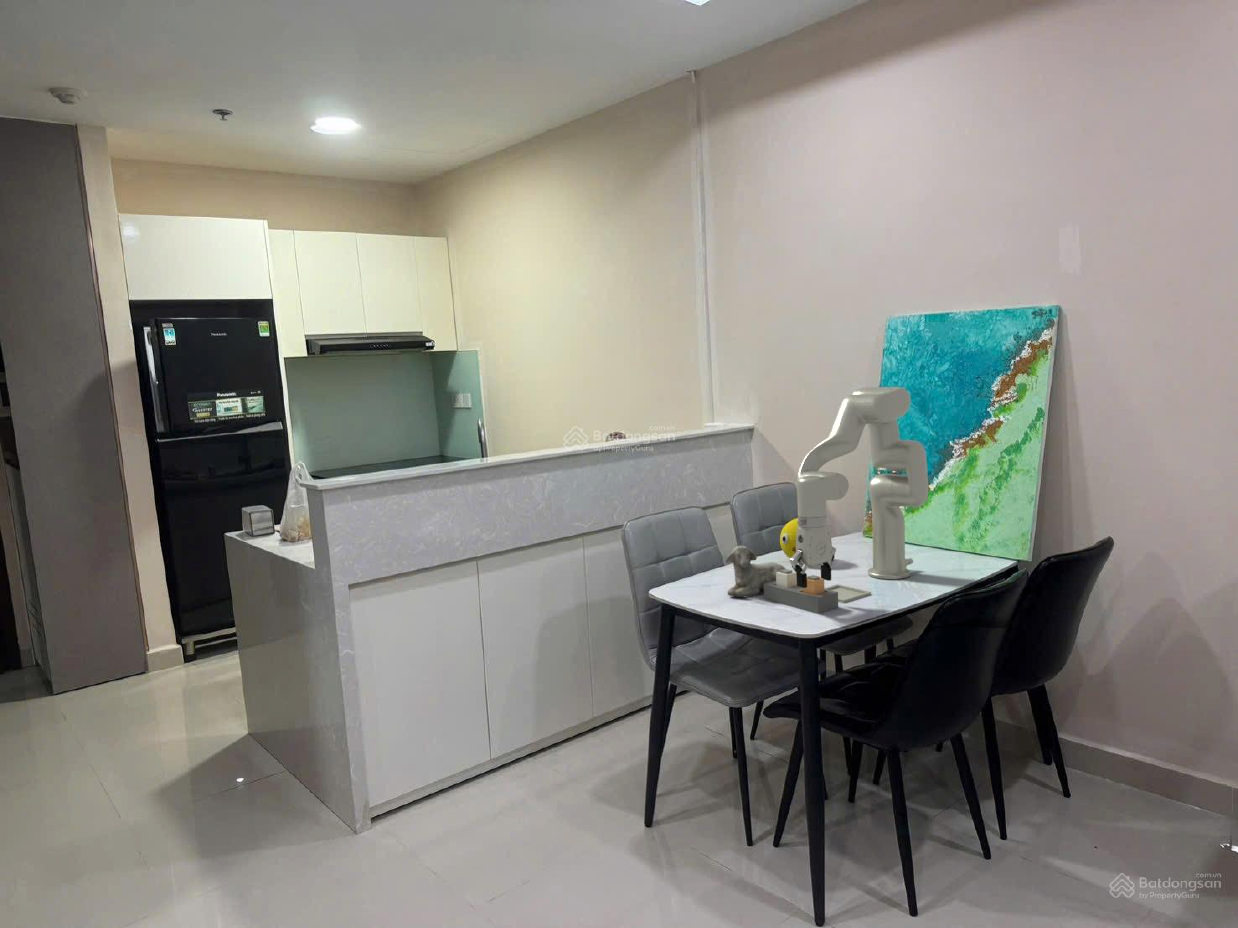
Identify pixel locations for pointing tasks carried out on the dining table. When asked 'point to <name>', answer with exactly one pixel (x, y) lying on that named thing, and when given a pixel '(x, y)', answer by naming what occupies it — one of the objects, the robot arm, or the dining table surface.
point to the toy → (789, 538)
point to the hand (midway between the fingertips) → (814, 583)
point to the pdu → (798, 594)
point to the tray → (848, 593)
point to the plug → (814, 585)
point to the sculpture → (750, 573)
